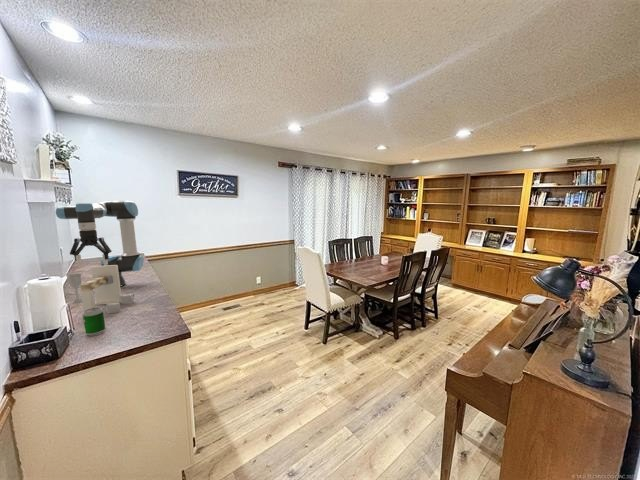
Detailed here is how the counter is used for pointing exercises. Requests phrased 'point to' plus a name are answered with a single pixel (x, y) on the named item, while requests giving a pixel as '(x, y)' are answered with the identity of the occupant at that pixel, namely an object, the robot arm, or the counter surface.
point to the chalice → (75, 285)
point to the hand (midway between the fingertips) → (92, 265)
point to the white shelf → (103, 287)
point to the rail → (93, 283)
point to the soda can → (94, 321)
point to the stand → (116, 306)
